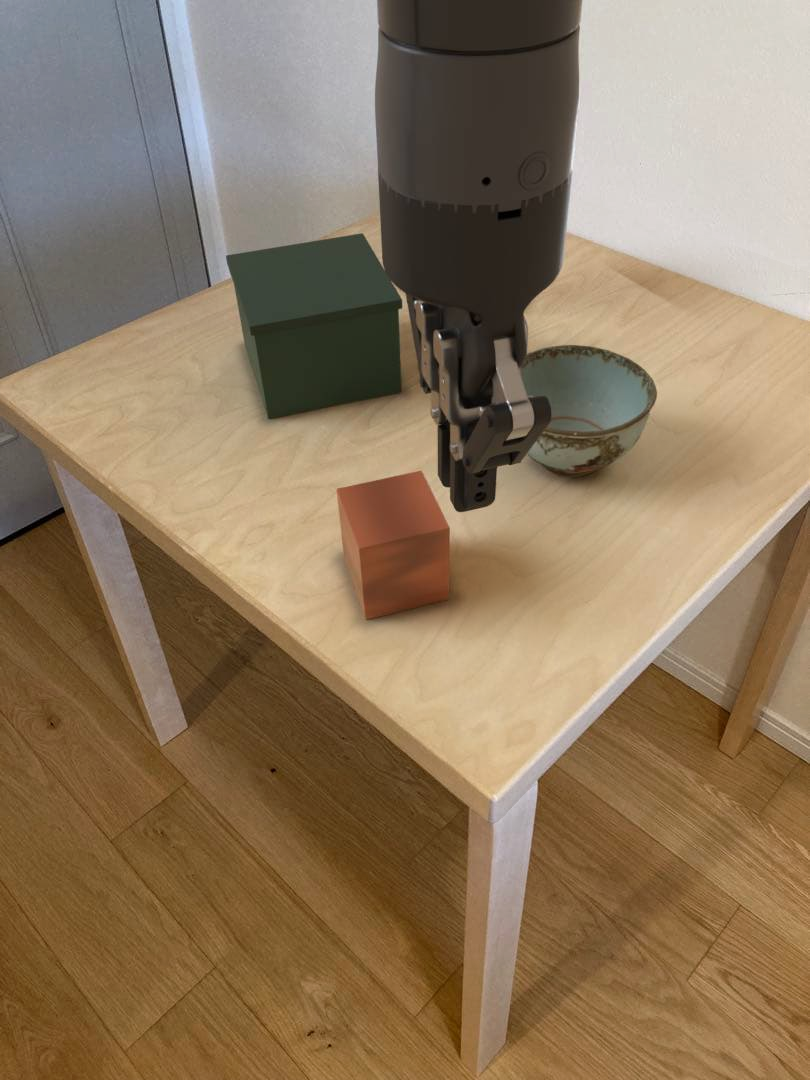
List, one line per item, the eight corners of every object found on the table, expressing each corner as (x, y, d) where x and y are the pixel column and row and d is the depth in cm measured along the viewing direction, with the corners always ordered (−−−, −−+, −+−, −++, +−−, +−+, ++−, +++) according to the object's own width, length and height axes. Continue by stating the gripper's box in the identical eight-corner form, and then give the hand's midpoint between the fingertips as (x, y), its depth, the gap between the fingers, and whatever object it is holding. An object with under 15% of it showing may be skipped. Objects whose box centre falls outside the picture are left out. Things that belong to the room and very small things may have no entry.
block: (365, 620, 71) (358, 548, 65) (344, 559, 75) (336, 488, 70) (449, 599, 72) (450, 527, 66) (423, 541, 77) (421, 469, 71)
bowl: (616, 522, 78) (630, 450, 72) (474, 479, 82) (476, 409, 77) (659, 433, 86) (674, 363, 81) (528, 399, 91) (534, 330, 85)
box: (265, 421, 89) (249, 326, 82) (242, 345, 99) (225, 255, 92) (405, 393, 92) (402, 299, 85) (368, 322, 102) (362, 232, 95)
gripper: (337, 108, 38) (362, 431, 51) (437, 249, 29) (438, 604, 41) (501, 86, 40) (487, 405, 52) (647, 214, 30) (588, 566, 43)
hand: (466, 492), depth 46 cm, fingers closed
